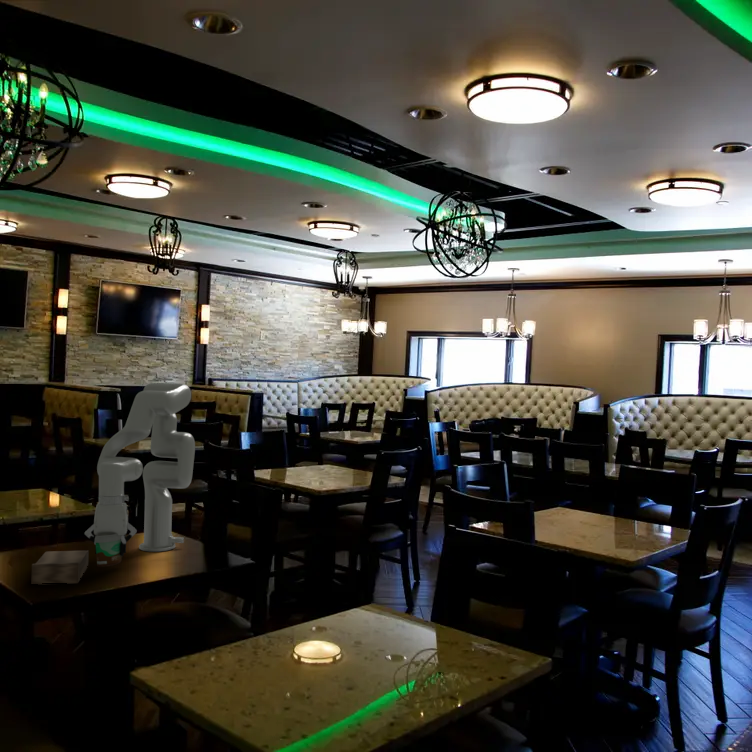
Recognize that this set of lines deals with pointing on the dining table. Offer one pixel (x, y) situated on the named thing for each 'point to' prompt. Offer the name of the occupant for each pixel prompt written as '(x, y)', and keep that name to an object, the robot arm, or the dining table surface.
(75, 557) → the brown rectangular block
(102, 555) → the food container
